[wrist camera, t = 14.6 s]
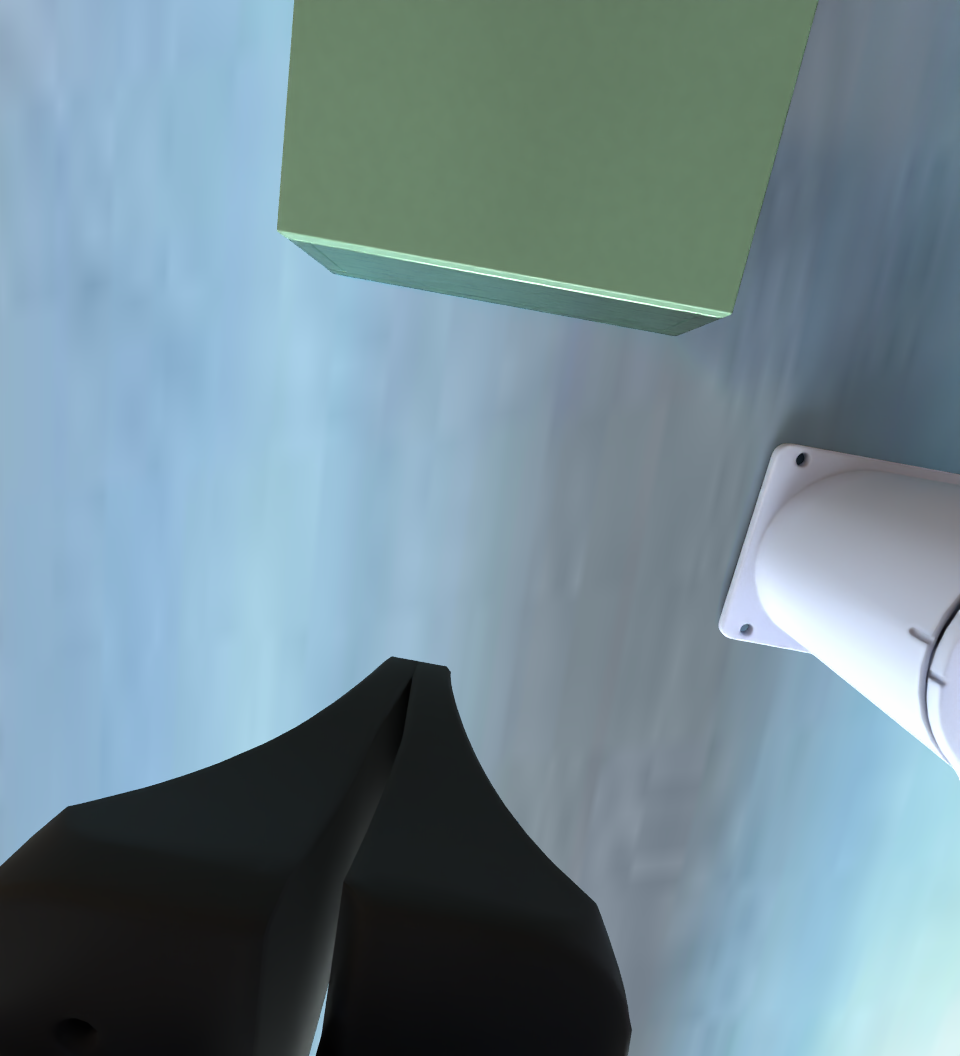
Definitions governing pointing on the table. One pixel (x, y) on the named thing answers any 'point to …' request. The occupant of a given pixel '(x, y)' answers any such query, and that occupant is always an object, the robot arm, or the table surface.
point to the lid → (543, 137)
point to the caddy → (504, 290)
